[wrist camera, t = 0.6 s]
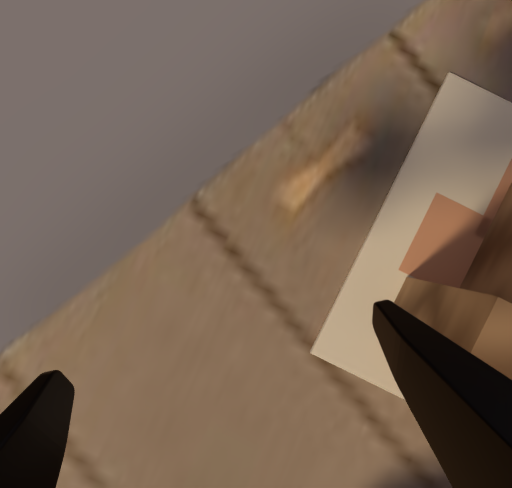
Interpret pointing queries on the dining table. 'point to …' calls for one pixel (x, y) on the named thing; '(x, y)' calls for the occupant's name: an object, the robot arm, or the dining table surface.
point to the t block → (474, 298)
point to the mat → (425, 221)
